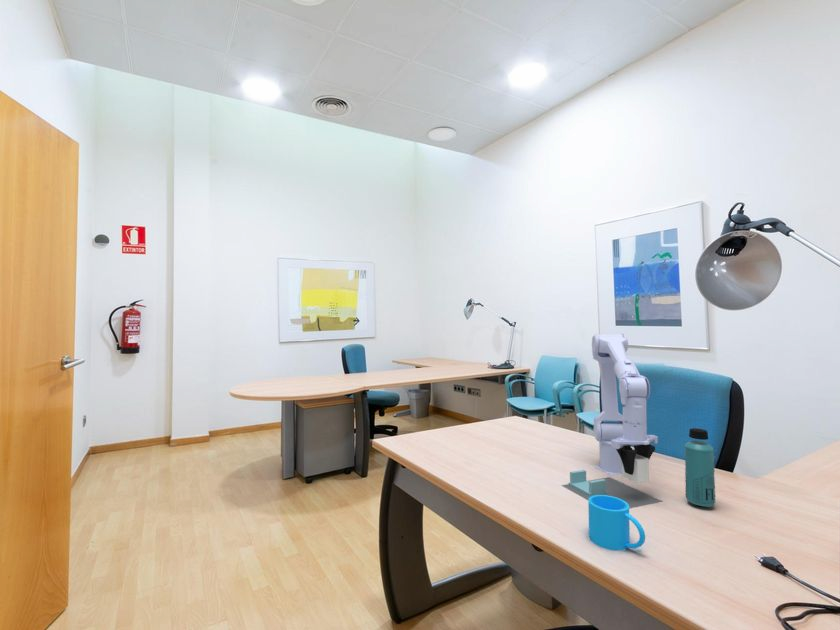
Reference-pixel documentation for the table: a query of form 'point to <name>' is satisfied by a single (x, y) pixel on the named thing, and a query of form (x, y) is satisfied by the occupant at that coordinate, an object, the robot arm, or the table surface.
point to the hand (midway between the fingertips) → (635, 472)
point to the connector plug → (638, 470)
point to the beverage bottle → (699, 469)
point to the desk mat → (621, 493)
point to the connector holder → (587, 484)
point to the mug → (611, 523)
